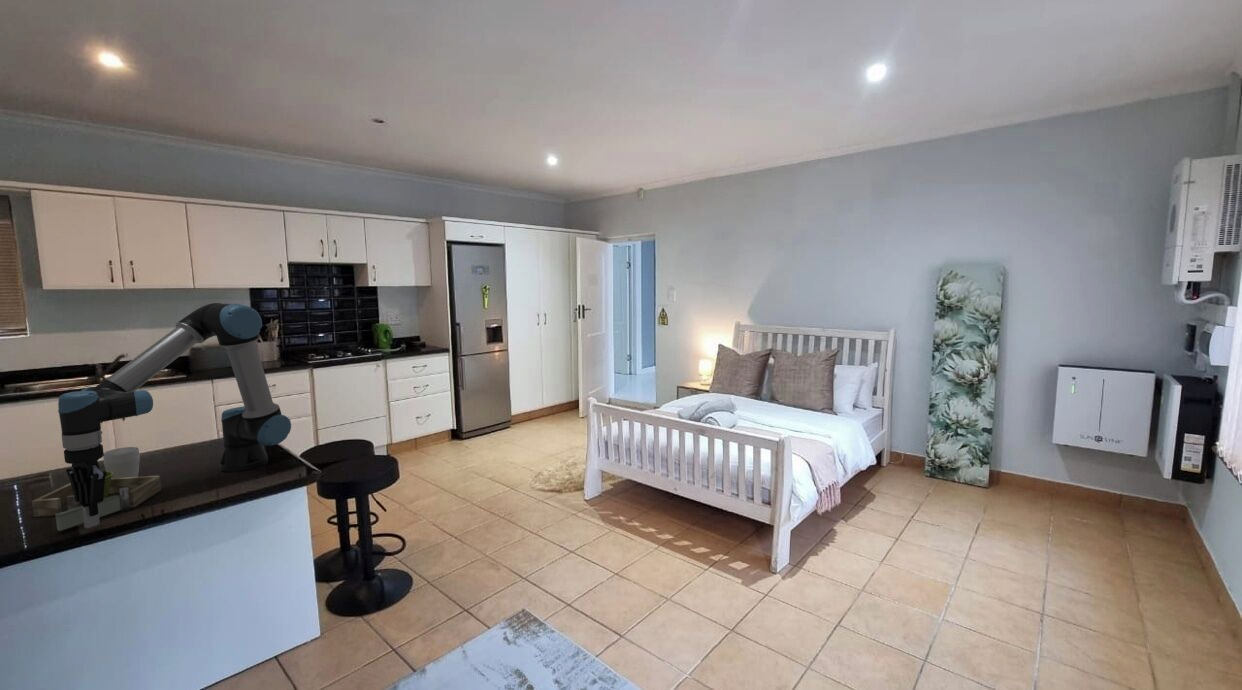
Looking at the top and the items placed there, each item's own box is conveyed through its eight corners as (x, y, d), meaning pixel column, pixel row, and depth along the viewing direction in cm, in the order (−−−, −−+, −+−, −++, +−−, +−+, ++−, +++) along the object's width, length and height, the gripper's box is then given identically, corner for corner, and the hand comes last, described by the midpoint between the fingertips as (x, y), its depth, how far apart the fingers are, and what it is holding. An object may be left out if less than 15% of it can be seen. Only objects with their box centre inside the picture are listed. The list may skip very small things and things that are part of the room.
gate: (117, 509, 155) (116, 494, 154) (120, 509, 154) (119, 495, 154) (57, 530, 141) (55, 514, 141) (60, 530, 141) (58, 515, 140)
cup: (119, 490, 169) (115, 456, 168) (98, 487, 171) (95, 454, 170) (149, 480, 178) (146, 448, 177) (129, 477, 180) (126, 445, 178)
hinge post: (132, 508, 157) (129, 486, 156) (127, 510, 155) (125, 489, 154) (124, 508, 157) (122, 487, 156) (119, 511, 155) (117, 489, 154)
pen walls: (162, 489, 171) (161, 475, 171) (129, 510, 156) (127, 495, 155) (77, 494, 165) (75, 480, 165) (33, 517, 150) (31, 501, 149)
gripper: (115, 444, 142) (123, 523, 145) (85, 439, 145) (93, 516, 148) (81, 453, 135) (90, 535, 138) (50, 447, 138) (59, 527, 141)
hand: (92, 525), depth 143 cm, fingers closed
